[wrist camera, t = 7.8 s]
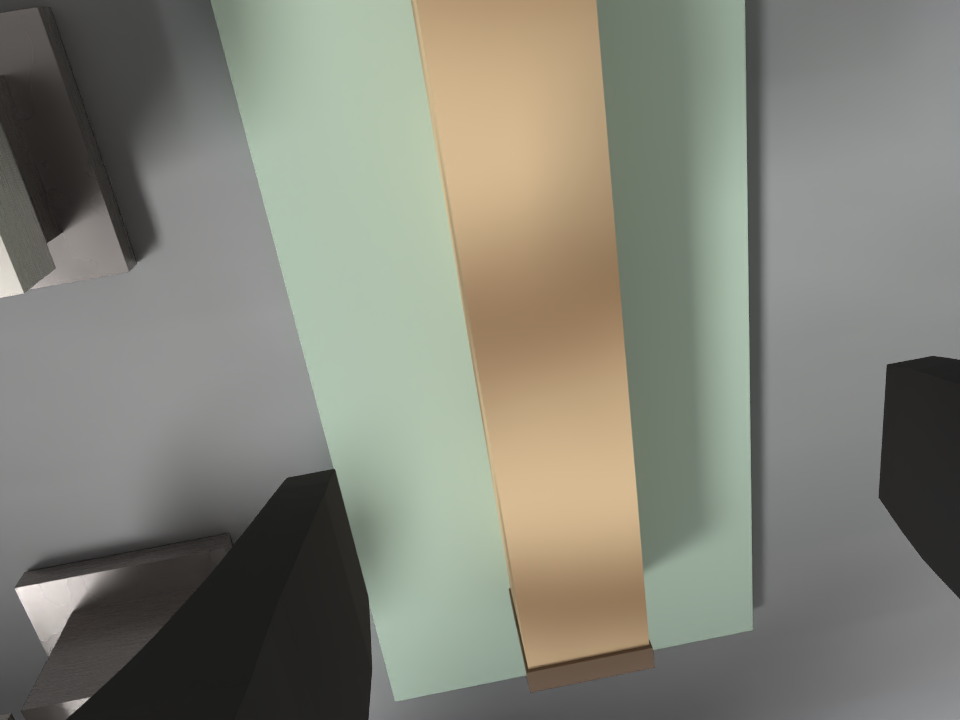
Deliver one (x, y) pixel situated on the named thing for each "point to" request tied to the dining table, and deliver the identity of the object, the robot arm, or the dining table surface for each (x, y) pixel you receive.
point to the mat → (441, 323)
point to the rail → (543, 319)
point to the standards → (51, 261)
